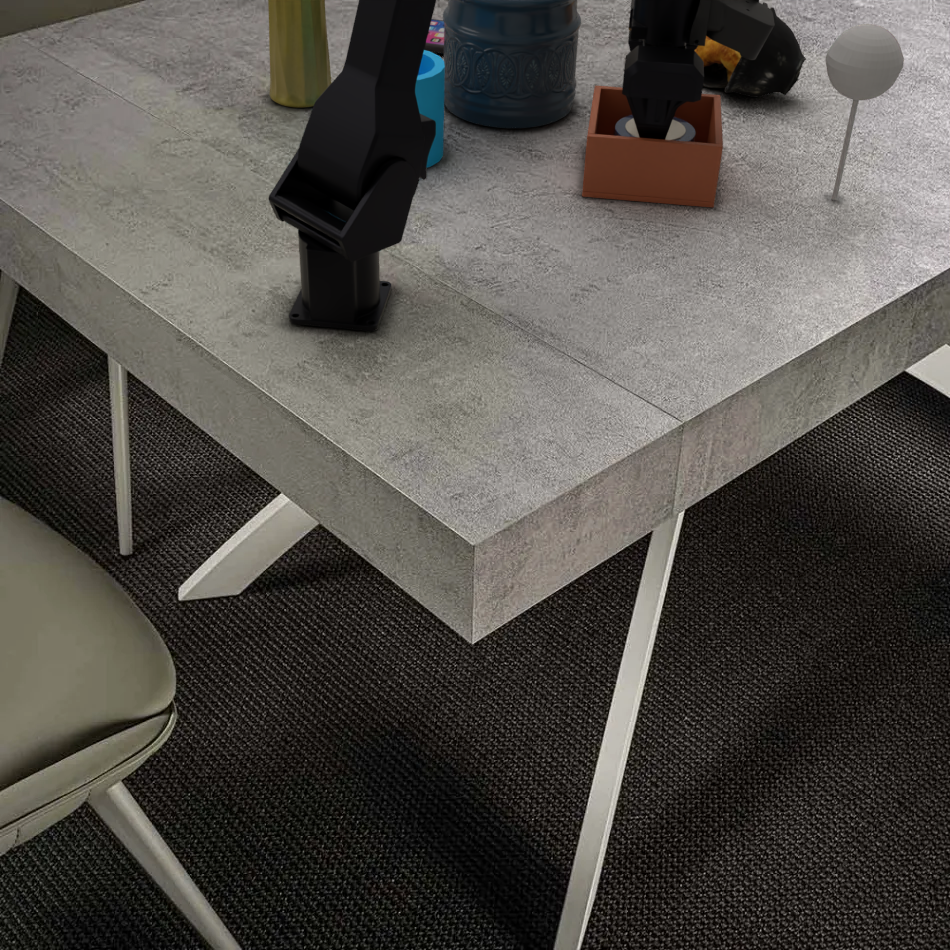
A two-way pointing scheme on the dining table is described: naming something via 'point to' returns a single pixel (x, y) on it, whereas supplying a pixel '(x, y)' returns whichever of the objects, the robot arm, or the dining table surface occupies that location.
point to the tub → (653, 155)
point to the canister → (510, 60)
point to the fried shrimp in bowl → (754, 64)
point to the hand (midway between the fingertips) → (652, 139)
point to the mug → (432, 99)
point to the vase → (298, 52)
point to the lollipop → (862, 71)
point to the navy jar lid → (677, 132)
